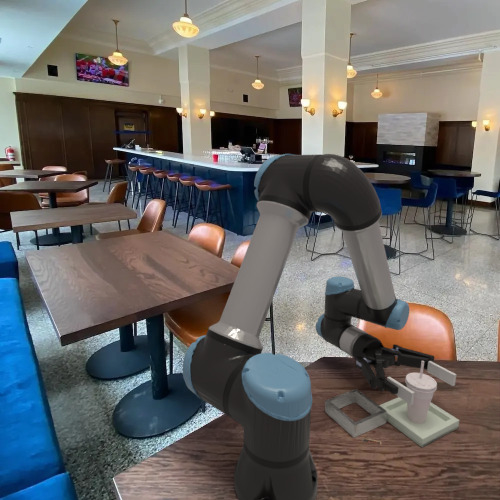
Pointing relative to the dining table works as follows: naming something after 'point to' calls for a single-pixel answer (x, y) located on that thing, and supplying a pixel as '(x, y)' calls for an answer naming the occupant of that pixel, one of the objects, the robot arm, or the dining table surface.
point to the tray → (423, 433)
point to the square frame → (347, 423)
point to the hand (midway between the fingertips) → (434, 389)
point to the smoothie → (420, 395)
